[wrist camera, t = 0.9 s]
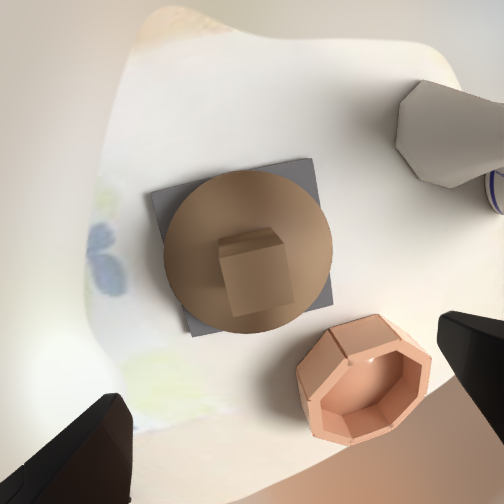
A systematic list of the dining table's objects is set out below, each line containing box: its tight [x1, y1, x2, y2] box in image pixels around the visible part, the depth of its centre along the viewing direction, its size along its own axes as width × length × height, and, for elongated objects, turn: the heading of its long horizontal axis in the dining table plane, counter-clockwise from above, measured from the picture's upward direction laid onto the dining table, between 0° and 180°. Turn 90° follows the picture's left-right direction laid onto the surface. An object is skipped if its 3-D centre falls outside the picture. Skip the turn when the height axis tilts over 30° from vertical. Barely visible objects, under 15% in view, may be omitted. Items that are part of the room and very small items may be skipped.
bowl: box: [296, 314, 432, 446], centre depth 21 cm, size 9×9×4 cm
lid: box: [164, 170, 333, 334], centre depth 16 cm, size 9×9×4 cm
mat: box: [151, 158, 333, 337], centre depth 19 cm, size 9×9×1 cm
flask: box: [396, 80, 504, 189], centre depth 13 cm, size 7×7×10 cm
